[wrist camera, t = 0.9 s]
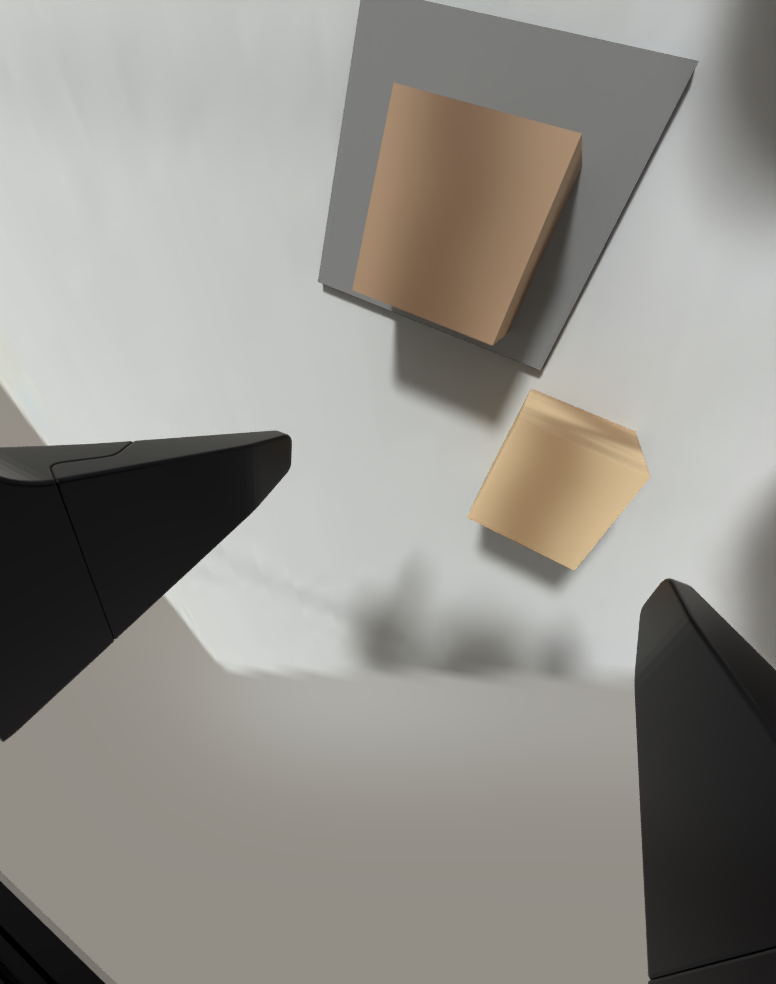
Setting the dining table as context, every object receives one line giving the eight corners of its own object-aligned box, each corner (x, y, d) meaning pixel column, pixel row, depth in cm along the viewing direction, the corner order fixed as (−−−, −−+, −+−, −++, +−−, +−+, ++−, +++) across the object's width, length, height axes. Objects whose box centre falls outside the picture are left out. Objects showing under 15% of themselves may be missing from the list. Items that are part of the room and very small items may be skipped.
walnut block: (582, 164, 14) (581, 133, 11) (508, 332, 18) (492, 345, 14) (433, 122, 15) (393, 82, 12) (391, 287, 19) (352, 290, 16)
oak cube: (635, 430, 18) (650, 476, 14) (576, 513, 21) (574, 570, 17) (531, 388, 19) (517, 419, 15) (488, 472, 22) (466, 517, 18)
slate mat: (695, 66, 12) (698, 61, 12) (541, 368, 18) (540, 370, 18) (367, -7, 15) (362, -14, 14) (322, 281, 20) (317, 281, 20)
